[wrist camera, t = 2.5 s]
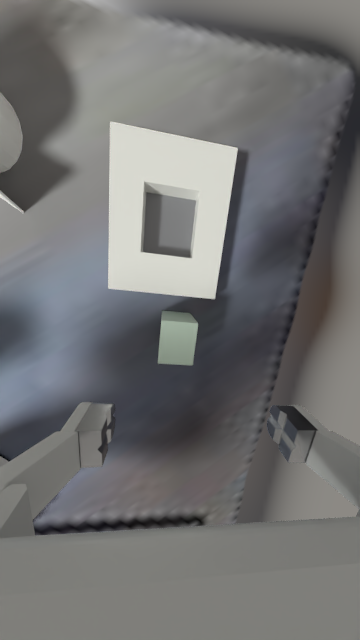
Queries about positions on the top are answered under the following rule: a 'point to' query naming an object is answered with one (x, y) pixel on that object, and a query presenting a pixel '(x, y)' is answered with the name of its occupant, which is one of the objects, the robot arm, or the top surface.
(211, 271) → the socket plate
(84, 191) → the top surface
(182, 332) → the plug
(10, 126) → the toilet paper
